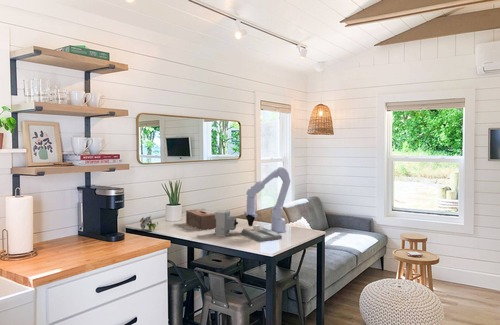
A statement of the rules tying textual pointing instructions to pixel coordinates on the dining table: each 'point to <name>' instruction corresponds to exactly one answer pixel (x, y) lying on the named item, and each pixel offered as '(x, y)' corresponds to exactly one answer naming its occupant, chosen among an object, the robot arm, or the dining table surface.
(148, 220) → the passion flower
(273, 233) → the breaker panel
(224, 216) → the circuit breaker
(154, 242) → the dining table surface
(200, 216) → the tissue box cover
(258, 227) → the switch
